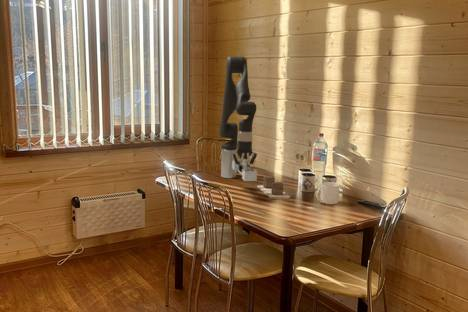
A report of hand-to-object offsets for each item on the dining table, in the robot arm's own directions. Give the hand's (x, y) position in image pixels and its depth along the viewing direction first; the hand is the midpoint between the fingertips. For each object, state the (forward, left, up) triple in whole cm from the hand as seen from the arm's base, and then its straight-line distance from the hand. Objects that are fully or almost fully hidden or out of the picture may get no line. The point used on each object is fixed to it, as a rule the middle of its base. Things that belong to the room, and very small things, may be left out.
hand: (243, 171), depth 242 cm
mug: (+24, +37, -12) cm, 46 cm away
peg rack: (+2, +16, -12) cm, 20 cm away
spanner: (0, 0, -1) cm, 1 cm away
